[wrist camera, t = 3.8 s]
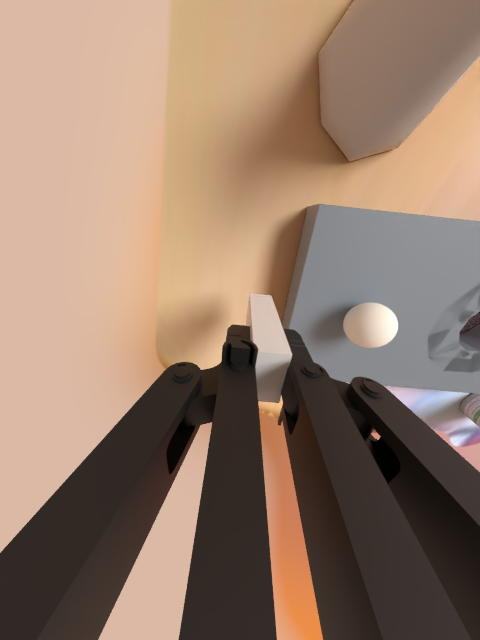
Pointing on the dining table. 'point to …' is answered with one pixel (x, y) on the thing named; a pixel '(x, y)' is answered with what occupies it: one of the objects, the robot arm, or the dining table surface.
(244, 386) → the robot arm
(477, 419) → the container
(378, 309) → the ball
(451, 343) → the plate
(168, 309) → the dining table surface
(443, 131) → the dining table surface
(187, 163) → the dining table surface
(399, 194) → the dining table surface
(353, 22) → the flask
